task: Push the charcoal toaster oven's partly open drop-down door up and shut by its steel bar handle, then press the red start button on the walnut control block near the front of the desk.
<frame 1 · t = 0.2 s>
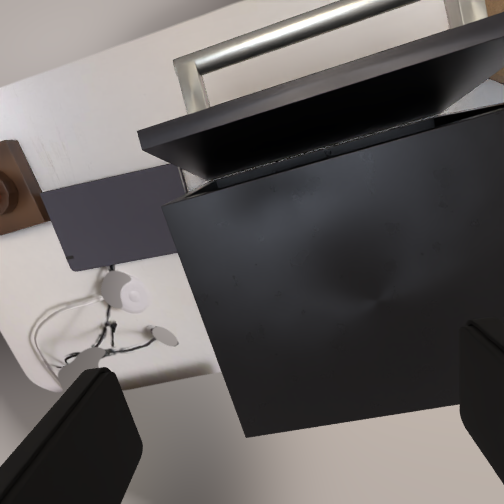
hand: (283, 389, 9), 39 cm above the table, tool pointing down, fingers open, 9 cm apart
candle holder: (503, 25, 38), on the table
control block: (8, 190, 48), on the table
notebook: (125, 218, 48), on the table
oven door: (316, 91, 33), point 9 cm above the table, hinge at 12.9°
oven: (336, 238, 47), on the table
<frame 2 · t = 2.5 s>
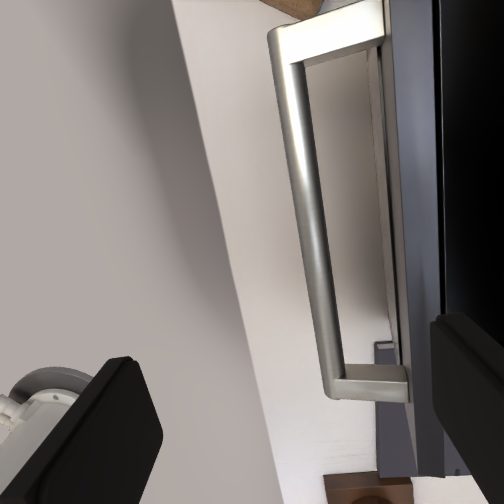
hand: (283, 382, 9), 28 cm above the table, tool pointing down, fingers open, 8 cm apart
control block: (367, 496, 48), on the table
notebook: (423, 405, 42), on the table
oven door: (358, 212, 26), point 9 cm above the table, hinge at 12.9°
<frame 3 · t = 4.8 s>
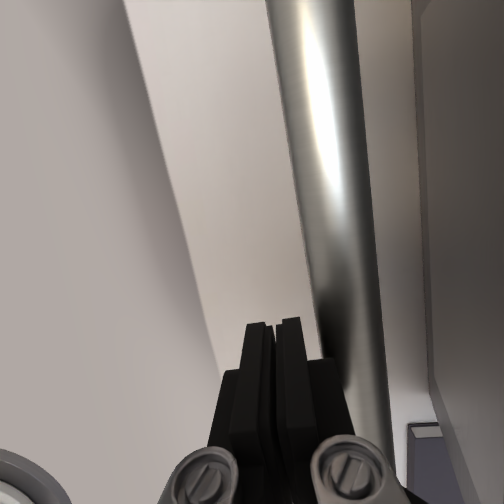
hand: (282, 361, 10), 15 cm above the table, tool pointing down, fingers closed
oven door: (414, 267, 15), point 9 cm above the table, hinge at 12.4°, touching gripper
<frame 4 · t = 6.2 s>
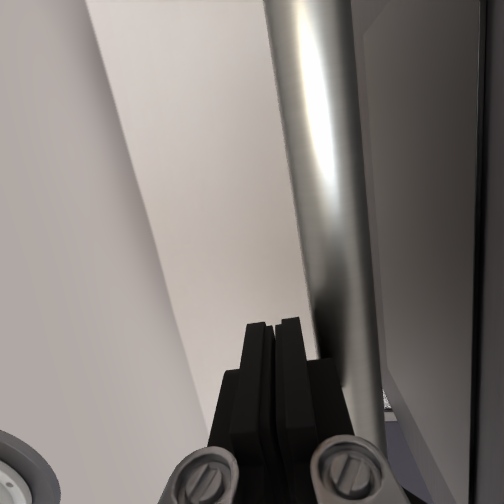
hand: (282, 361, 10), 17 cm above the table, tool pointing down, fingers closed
notebook: (424, 485, 33), on the table
oven door: (376, 265, 16), point 10 cm above the table, hinge at -0.4°, touching gripper
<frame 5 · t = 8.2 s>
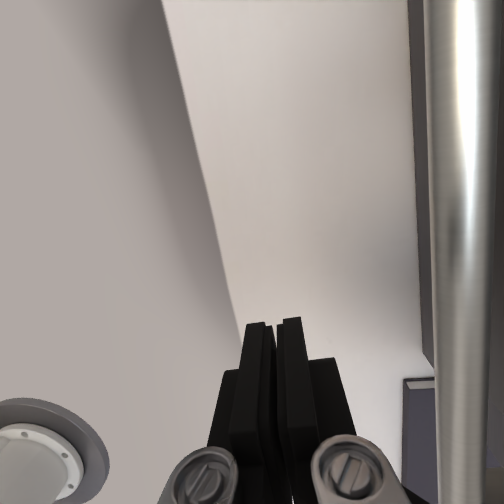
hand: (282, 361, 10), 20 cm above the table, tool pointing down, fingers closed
notebook: (460, 452, 35), on the table
oven door: (448, 225, 17), point 10 cm above the table, hinge at -0.2°
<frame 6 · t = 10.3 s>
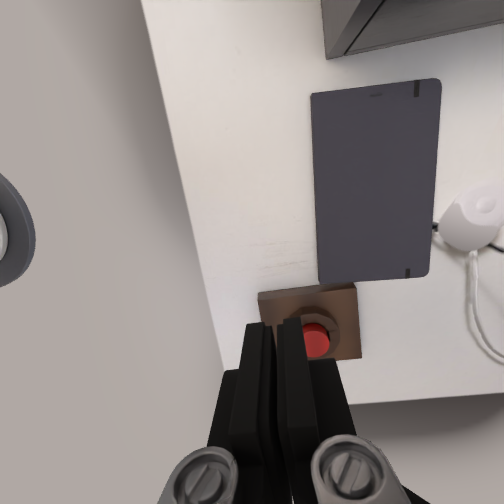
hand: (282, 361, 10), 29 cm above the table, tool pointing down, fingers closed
control block: (309, 320, 42), on the table
notebook: (370, 190, 36), on the table
start button: (312, 340, 38), point 4 cm above the table, slide at 0.1 cm
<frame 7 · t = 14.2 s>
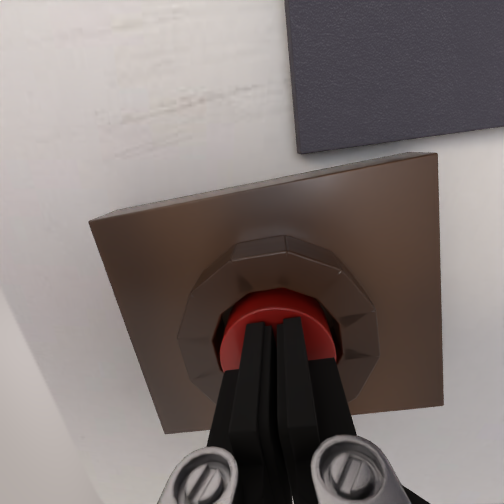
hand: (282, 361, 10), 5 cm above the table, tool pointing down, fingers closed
control block: (276, 294, 14), on the table
start button: (277, 343, 11), point 4 cm above the table, slide at -0.6 cm, touching gripper
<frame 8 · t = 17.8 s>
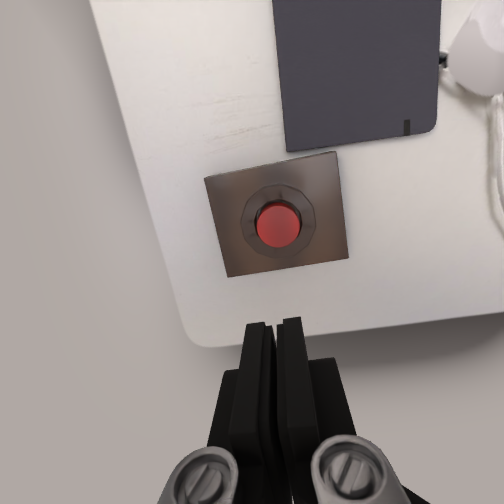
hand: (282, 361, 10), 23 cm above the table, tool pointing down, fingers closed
control block: (277, 214, 32), on the table
notebook: (350, 7, 26), on the table
start button: (278, 224, 27), point 4 cm above the table, slide at 0.1 cm
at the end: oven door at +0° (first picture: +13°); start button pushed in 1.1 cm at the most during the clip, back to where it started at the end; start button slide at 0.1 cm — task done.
